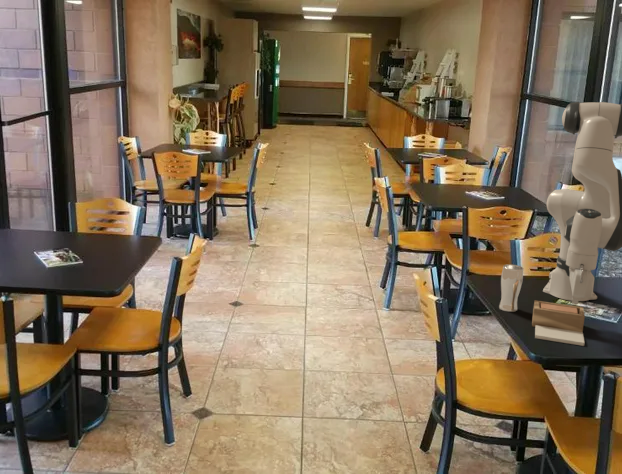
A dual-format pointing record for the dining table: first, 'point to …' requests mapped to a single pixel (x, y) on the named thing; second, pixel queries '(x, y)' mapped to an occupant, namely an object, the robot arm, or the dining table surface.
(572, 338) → the mat
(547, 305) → the tile
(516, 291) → the beer glass
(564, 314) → the pocket block
